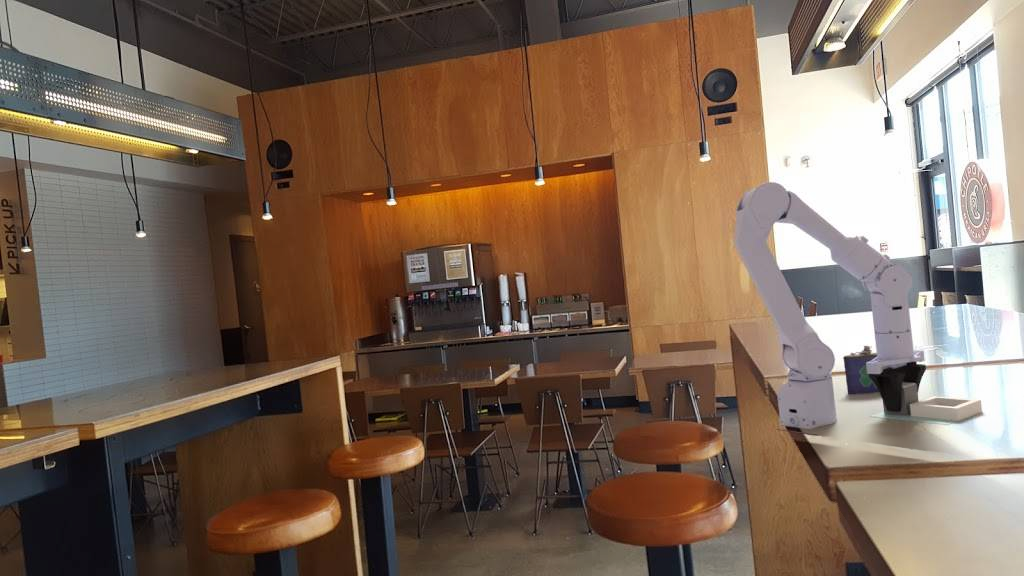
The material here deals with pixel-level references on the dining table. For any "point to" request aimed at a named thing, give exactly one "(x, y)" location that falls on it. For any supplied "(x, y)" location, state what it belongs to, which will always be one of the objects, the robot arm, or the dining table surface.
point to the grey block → (906, 399)
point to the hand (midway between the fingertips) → (901, 408)
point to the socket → (946, 408)
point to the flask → (859, 372)
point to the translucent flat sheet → (916, 418)
